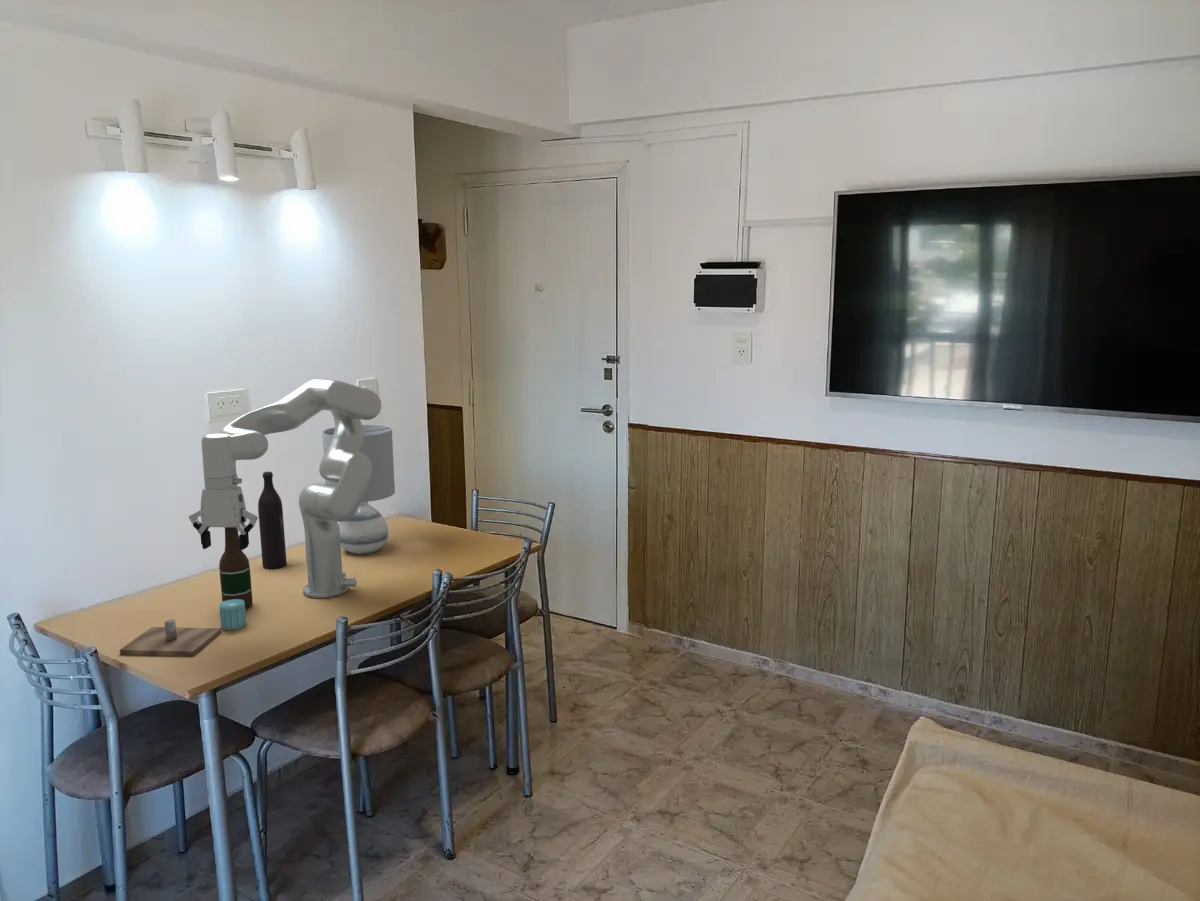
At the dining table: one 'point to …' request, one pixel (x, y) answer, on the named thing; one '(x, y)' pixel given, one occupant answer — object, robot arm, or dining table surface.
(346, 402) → the robot arm
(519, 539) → the dining table surface
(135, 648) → the post board
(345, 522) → the lamp
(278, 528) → the wine bottle
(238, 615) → the cap
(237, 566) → the beer bottle
